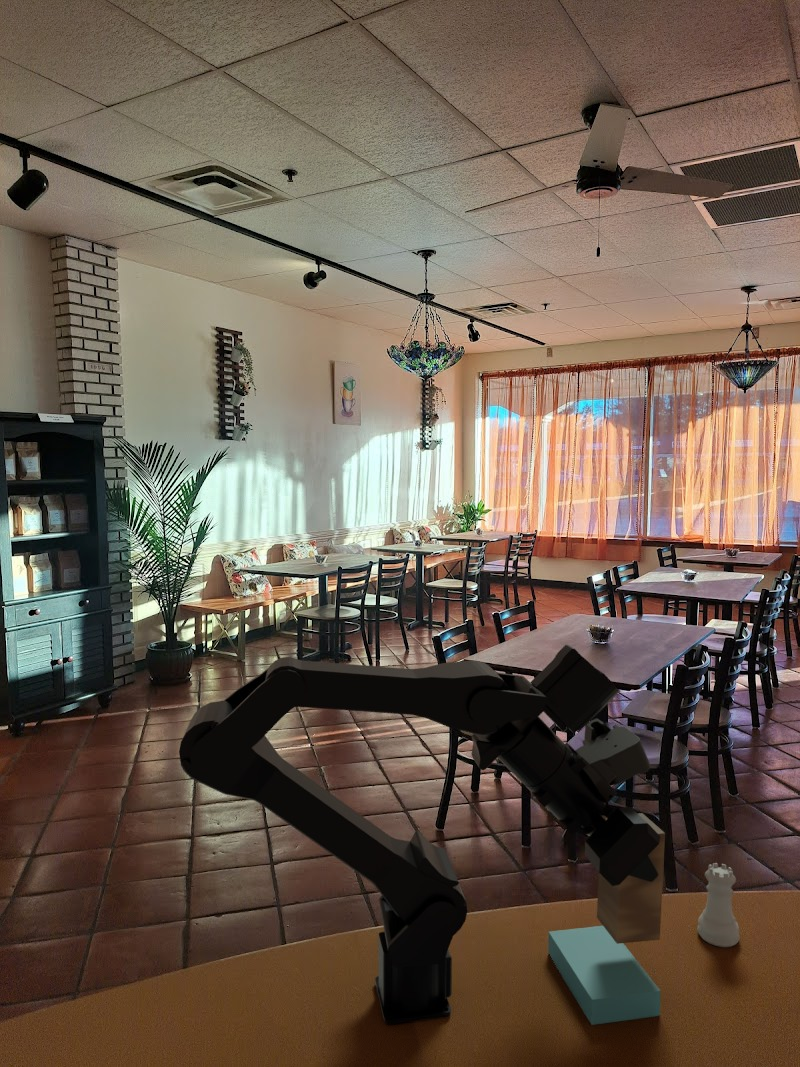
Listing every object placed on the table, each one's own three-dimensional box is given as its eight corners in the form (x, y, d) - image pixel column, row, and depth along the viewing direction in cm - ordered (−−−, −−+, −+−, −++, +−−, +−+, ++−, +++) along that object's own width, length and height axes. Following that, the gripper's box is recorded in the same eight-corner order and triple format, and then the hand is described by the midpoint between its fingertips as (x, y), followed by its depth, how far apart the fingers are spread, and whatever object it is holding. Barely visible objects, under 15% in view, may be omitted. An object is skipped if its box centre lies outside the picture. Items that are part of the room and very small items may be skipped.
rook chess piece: (732, 926, 88) (734, 859, 88) (745, 950, 84) (748, 880, 83) (692, 924, 89) (694, 857, 88) (703, 947, 84) (705, 877, 84)
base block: (591, 1025, 72) (592, 999, 72) (548, 953, 83) (548, 931, 83) (659, 1015, 74) (660, 990, 73) (608, 946, 84) (608, 924, 84)
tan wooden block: (616, 943, 76) (622, 836, 75) (596, 917, 80) (601, 815, 80) (659, 939, 77) (665, 833, 76) (637, 913, 81) (642, 813, 80)
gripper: (644, 737, 67) (752, 852, 70) (566, 680, 85) (654, 773, 88) (554, 828, 66) (667, 941, 69) (495, 751, 85) (586, 843, 87)
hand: (643, 865), depth 78 cm, fingers closed on tan wooden block, 5 cm apart
